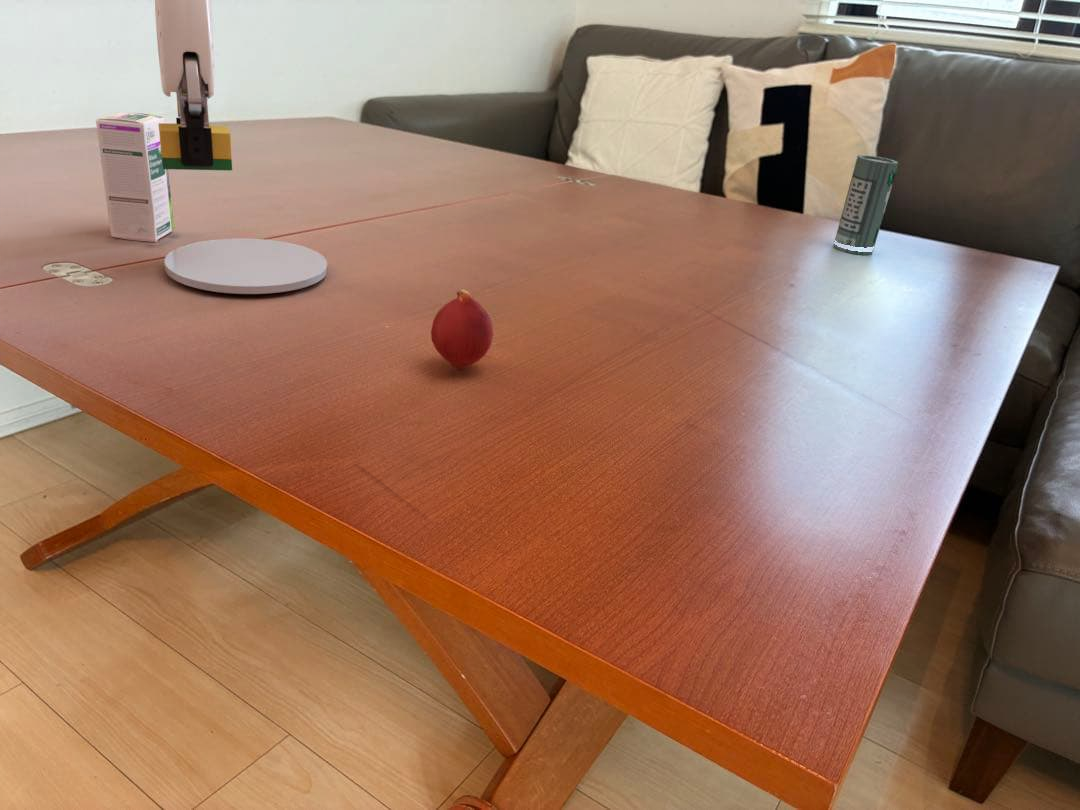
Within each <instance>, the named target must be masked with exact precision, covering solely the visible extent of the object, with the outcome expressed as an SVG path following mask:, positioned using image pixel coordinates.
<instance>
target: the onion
mask: <svg viewBox="0 0 1080 810" xmlns="http://www.w3.org/2000/svg"><path fill="white" fill-rule="evenodd" d="M456 295H457V297H456V298H454V299H451V300H450V301H448V302H447V303H445V304H444V305H442V307H441V308H440V309H439V310H438V311H437V313H436V314H435V316H434V319H433V321H432V324H431V325H432V326H431V330H430V337H431V342H432V344H433V346H434V348H435V349H436V351H437V353H438V354H439V355H440V356H441V357H442V358H443V359H444V360H446V361H447V362H448V363H449V364H451V366H452V367H453V368H454V369H456V370H463V369H465V368H467V367H470V366H472V365H474V364H475V363H477V362H479V361H480V360H481V359H483V357H485V356H486V355H487V353H488V351H489V350H490V348H491V345H492V343H493V339H494V325H493V322H492V319H491V317H490V315H489V314H488V311H486V309H485V308H484V307H483V306H482V304H480V303H479V302H478V301H477V300H476V299H475V298H473V296H472V295H471V294H470V293H469V292H468V290H464V289H460V290H458V291H456Z"/></svg>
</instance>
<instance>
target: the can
mask: <svg viewBox="0 0 1080 810" xmlns="http://www.w3.org/2000/svg"><path fill="white" fill-rule="evenodd" d="M899 164H900V163H899V161H897V160H894V159H891V158H887V157H881V156H876V155H875V156H874V155H868V154H865V155H864V154H860V155H857V156H856V160H855V164H854V169H853V171H852V175H851V178H850V183H849V186H848V190H847V193H846V198H845V200H844V205H843V208H842V212H841V216H840V220H839V222H838V223H839V224H838V227H837V230H836V235H835V237H834V238H835V239H834V241H835V240H836V241H837V242H838V243H841V244H844V245H850V246H853V247H854V246H855V247H864V248H867V247H873V246H874V247H875V246H876V242H877V239H878V236H879V231H880V229H881V226H882V222H883V218H884V215H885V212H886V208H887V204H888V201H889V198H890V195H891V191H892V188H893V185H894V181H895V177H896V173H897V170H898V167H899ZM833 248H835V249H836V250H838V251H841V252H843V253H848V254H853V255H858V256H860V255H861V256H871V255H872V254H873V253H874V250H873V251H872V252H873V253H872V252H858V251H851V250H848V249H844V248H841V247H838V246H837V245H835V244H834V243H833Z"/></svg>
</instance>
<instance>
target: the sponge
mask: <svg viewBox="0 0 1080 810" xmlns="http://www.w3.org/2000/svg"><path fill="white" fill-rule="evenodd" d="M178 126H181V124H177V123H165V122H164V123H159V135H160V146H161V157H162V165H163V169H168V170H177V171H179V170H181V171H182V170H185V171H187V170H189V171H233V159H232V141H231V140H232V139H231V133H230V131H229V128H228V125H227V126H226V125H217V124H215V125H213V124H211V125H210V124H209V128H211V134H212V149H213V165H212V166H210V167H206V166H184V165H182V163H181V153H180V141H179V129H178Z"/></svg>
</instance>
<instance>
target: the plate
mask: <svg viewBox="0 0 1080 810" xmlns="http://www.w3.org/2000/svg"><path fill="white" fill-rule="evenodd" d="M163 265H164V270H165V273H166V274H167V276H168V277H170V278H171V279H172V280H173V281H175V282H178V283H179V284H182V285H184V286H186V287H187V286H188V287H191V288H195V289H198V290H204V291H207V292H208V291H209V292H216V293H223V294H235V295H262V294H276V293H284V292H291V291H296V290H300V289H303V288H304V289H305V288H307V287H309V286H312V285H315V284H317V283H319V282H320V281H322V280H323V279H324V278H325V277H326V276H327V274H328V261H327V259H326V258H325V256H324V255H323V254H321V253H320V252H319V251H316V250H314V249H311V248H309V247H307V246H304V245H300V244H297V243H291V242H287V241H282V240H275V239H267V238H264V239H263V238H247V237H245V238H243V237H242V238H241V237H240V238H237V237H236V238H235V237H233V238H219V239H218V238H217V239H210V240H202V241H196V242H192V243H189V244H185V245H182V246H180V247H177V248H175V249H173V250H171V251H170V252H169V253H167V254H166V256H165V257H164V260H163Z"/></svg>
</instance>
